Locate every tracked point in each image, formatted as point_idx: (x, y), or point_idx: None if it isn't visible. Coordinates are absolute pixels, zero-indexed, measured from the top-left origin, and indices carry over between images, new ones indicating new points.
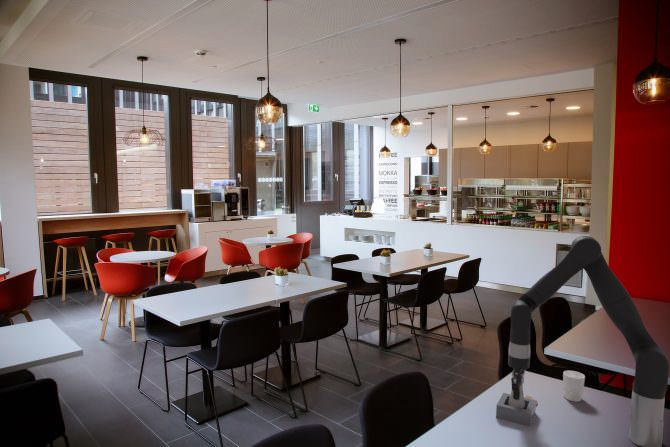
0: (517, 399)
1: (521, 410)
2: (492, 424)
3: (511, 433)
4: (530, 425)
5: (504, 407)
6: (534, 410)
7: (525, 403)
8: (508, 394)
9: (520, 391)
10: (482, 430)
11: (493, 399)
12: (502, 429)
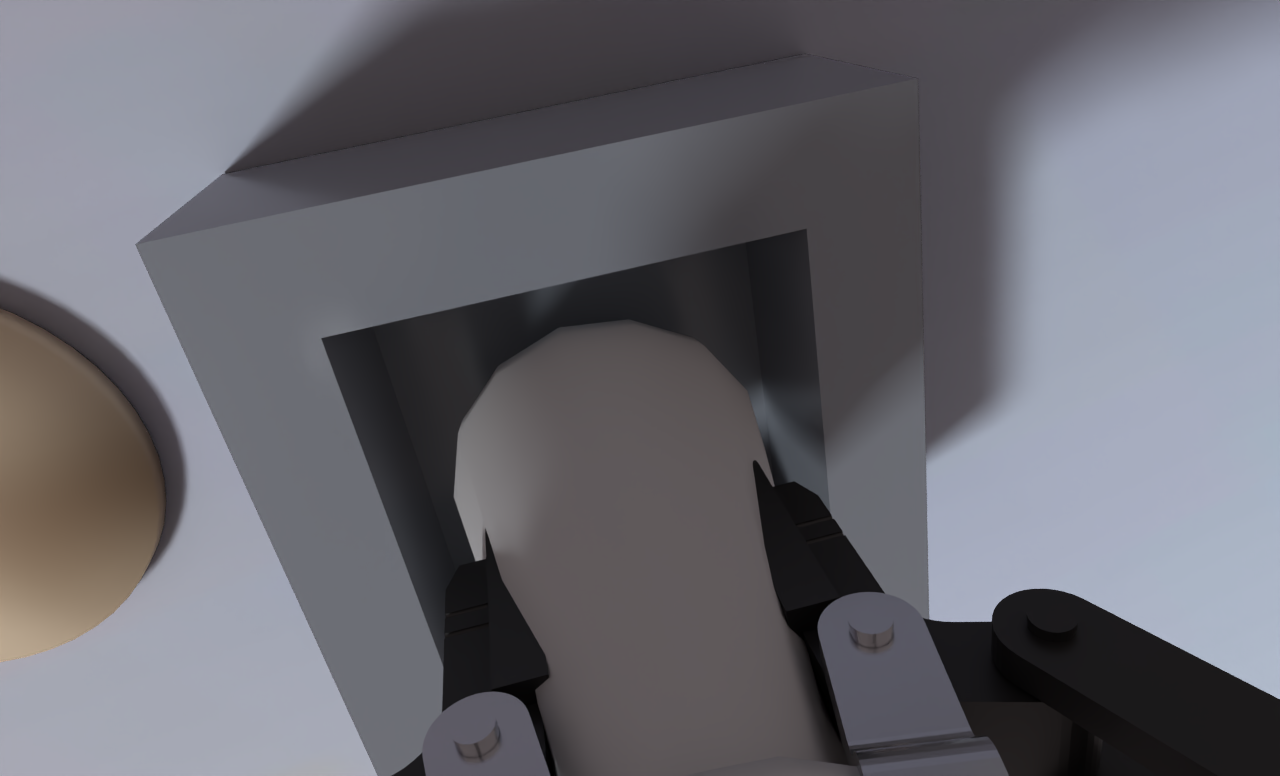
0: (809, 493)
1: (890, 283)
2: (1032, 467)
3: (1145, 196)
4: (779, 60)
5: (924, 536)
6: (358, 165)
7: (358, 383)
8: (383, 720)
9: (773, 594)
10: (1224, 475)
11: (346, 769)
12: (1095, 328)
